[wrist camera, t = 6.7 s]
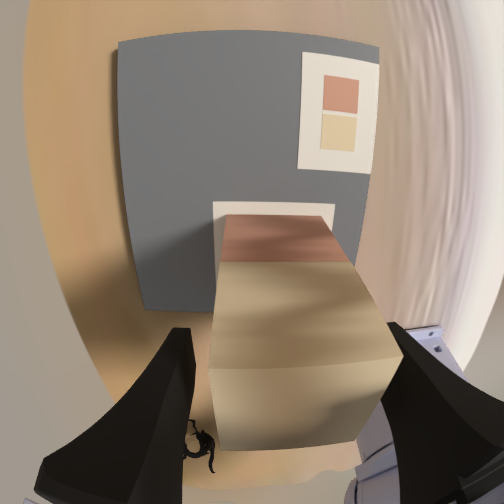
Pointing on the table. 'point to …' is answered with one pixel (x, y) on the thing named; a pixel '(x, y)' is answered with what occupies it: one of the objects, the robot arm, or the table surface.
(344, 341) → the maple block
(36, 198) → the table surface
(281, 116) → the build board
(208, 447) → the creature
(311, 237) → the rust block
